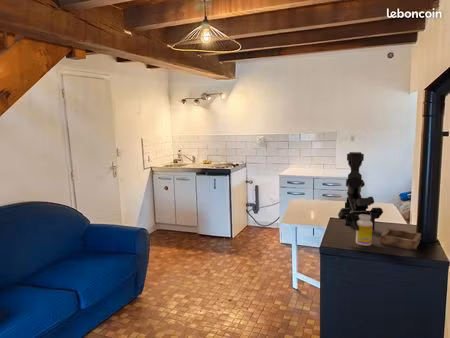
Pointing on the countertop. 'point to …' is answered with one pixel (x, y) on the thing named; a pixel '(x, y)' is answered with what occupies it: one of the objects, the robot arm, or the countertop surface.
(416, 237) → the box
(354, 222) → the robot arm
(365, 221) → the supplement bottle
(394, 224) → the countertop surface
